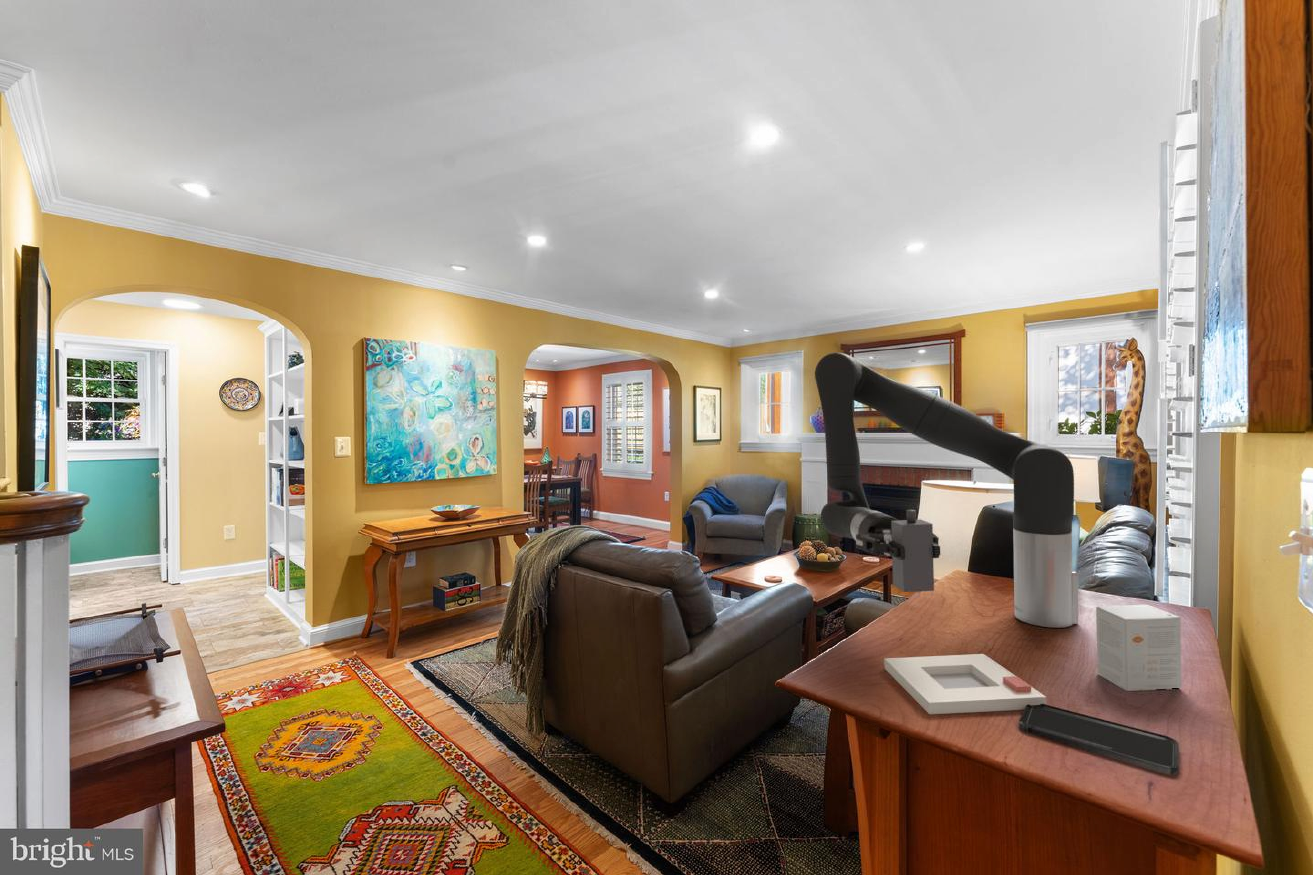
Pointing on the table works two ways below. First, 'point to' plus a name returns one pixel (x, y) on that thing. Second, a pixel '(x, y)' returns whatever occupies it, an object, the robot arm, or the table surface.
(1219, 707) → the table surface
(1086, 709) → the table surface
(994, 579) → the table surface
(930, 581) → the plug
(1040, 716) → the phone
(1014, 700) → the socket plate
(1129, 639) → the small box
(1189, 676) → the table surface
